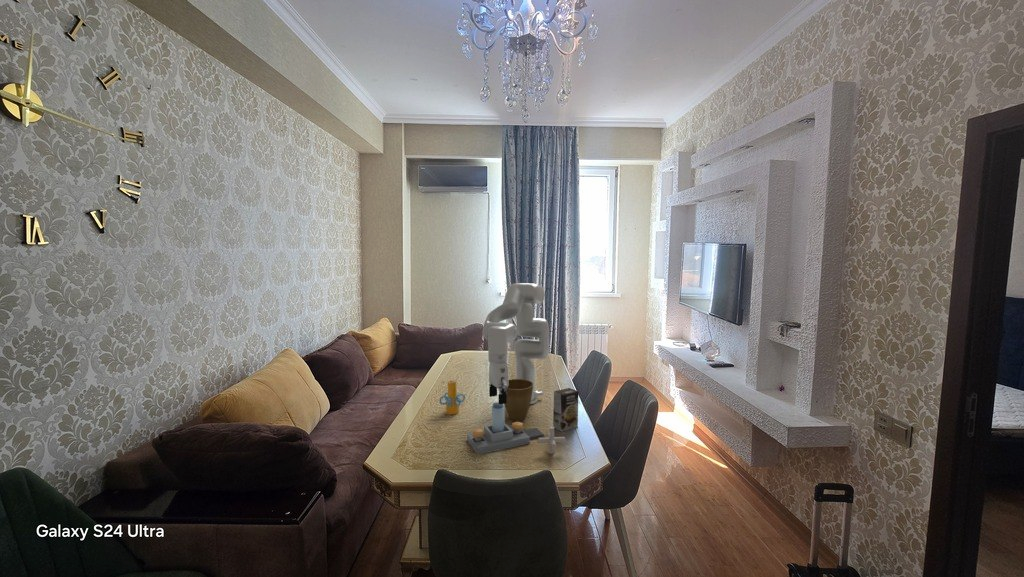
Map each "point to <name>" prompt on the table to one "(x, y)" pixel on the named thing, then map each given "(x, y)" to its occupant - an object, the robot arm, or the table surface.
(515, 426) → the light orange ball
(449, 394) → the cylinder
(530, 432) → the mat
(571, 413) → the coffee box
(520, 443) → the housing
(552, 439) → the pipe connector
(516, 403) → the plant pot
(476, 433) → the orange rounded knob
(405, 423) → the table surface
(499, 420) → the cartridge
